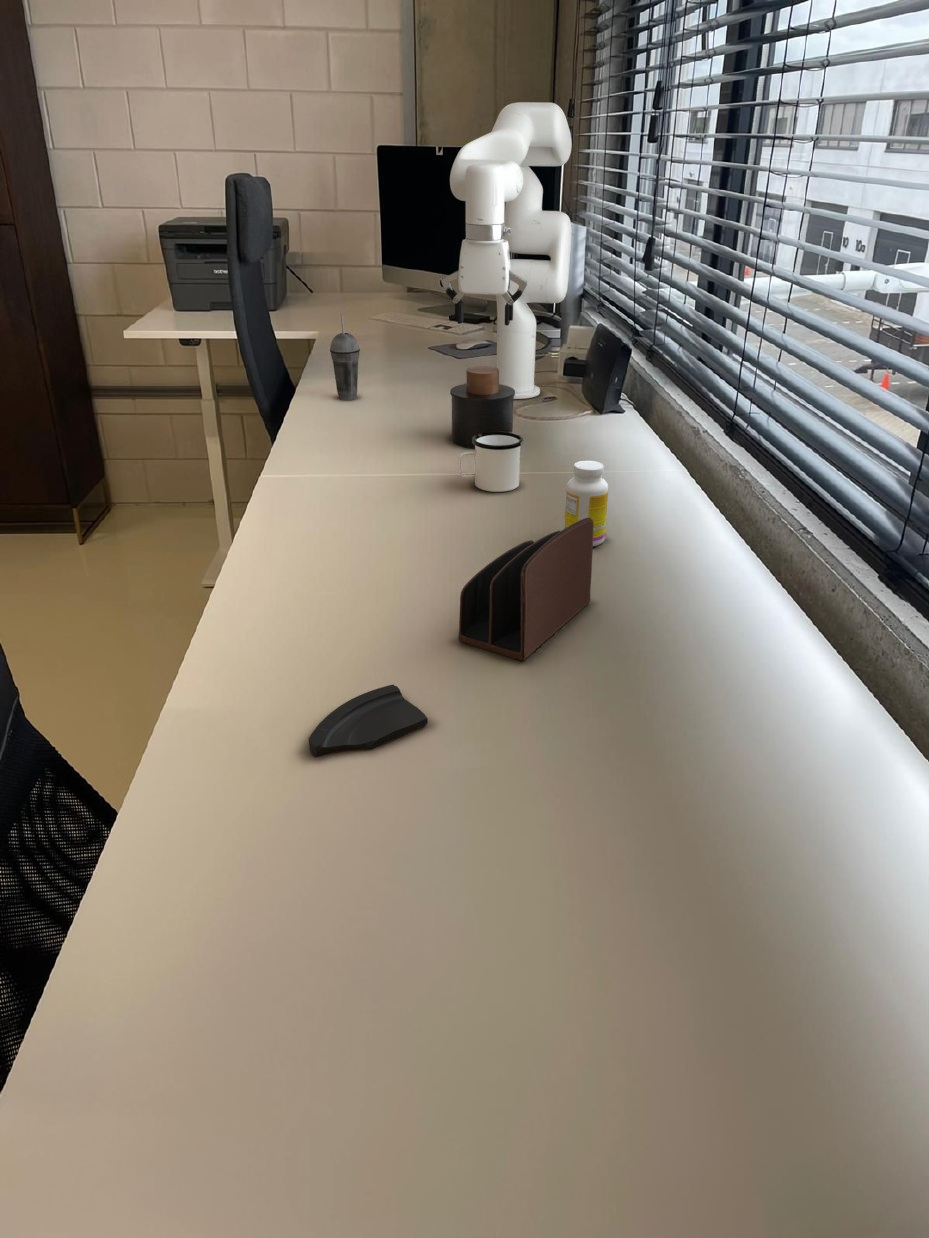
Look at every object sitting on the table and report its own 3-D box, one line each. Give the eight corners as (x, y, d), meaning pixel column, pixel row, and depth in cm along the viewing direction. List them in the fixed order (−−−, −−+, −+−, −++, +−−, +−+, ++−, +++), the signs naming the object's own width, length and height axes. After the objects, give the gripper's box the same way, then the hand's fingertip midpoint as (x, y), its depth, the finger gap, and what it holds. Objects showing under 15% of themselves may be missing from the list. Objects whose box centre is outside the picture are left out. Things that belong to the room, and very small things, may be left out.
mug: (515, 475, 183) (516, 429, 179) (527, 492, 175) (529, 444, 170) (454, 479, 181) (454, 433, 176) (464, 496, 172) (464, 448, 168)
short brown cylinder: (469, 386, 201) (469, 365, 199) (500, 387, 200) (501, 366, 198) (463, 394, 195) (463, 372, 193) (496, 395, 194) (496, 374, 192)
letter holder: (590, 603, 135) (597, 510, 128) (523, 663, 120) (527, 561, 113) (529, 586, 139) (532, 496, 133) (457, 642, 124) (457, 544, 118)
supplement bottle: (608, 535, 157) (614, 460, 151) (600, 550, 151) (606, 473, 145) (568, 530, 158) (573, 456, 152) (559, 545, 153) (563, 469, 147)
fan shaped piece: (289, 731, 106) (288, 719, 106) (392, 694, 113) (392, 682, 112) (324, 767, 100) (323, 755, 100) (431, 726, 107) (431, 714, 106)
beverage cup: (365, 394, 236) (361, 311, 227) (359, 402, 230) (355, 317, 220) (336, 393, 237) (331, 311, 227) (329, 401, 230) (324, 316, 221)
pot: (456, 429, 210) (456, 381, 205) (517, 432, 208) (518, 384, 203) (444, 447, 198) (444, 397, 193) (509, 451, 196) (510, 400, 191)
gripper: (531, 232, 186) (528, 321, 195) (444, 230, 189) (445, 318, 197) (526, 236, 180) (523, 329, 188) (437, 234, 182) (438, 325, 191)
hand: (483, 323), depth 193 cm, fingers open, 9 cm apart
